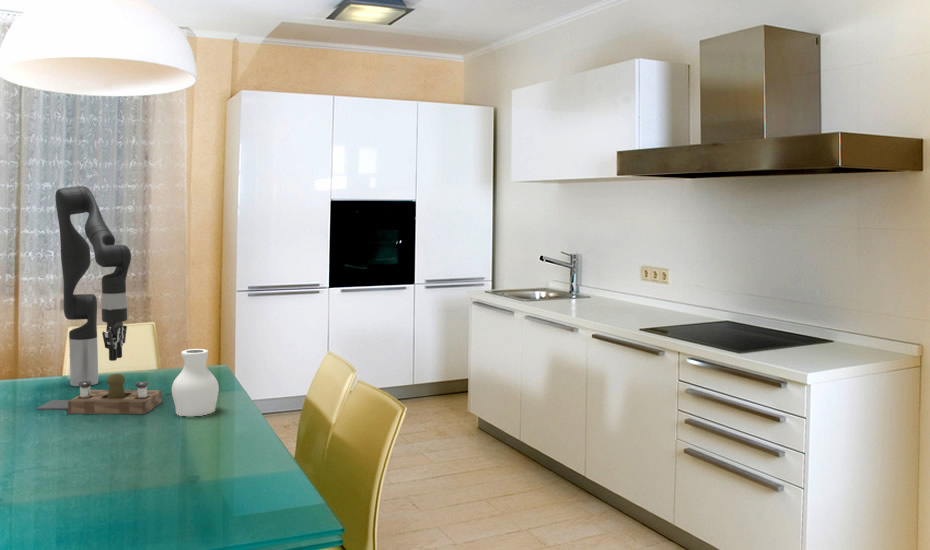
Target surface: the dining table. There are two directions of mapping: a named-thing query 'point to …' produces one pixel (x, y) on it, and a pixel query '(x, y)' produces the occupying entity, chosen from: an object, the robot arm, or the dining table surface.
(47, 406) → the pad
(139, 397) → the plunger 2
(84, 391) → the plunger
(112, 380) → the cork
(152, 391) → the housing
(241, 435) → the dining table surface
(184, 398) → the vase
